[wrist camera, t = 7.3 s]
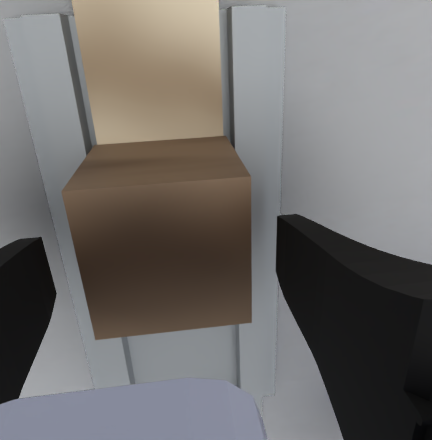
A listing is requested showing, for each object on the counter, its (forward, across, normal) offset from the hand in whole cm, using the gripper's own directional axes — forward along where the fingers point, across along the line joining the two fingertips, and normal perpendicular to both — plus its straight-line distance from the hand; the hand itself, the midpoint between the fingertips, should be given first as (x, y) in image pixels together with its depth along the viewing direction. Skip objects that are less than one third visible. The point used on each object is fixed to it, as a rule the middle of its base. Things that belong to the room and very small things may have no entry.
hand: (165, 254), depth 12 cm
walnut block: (+4, 0, 0) cm, 4 cm away
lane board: (+6, 0, +3) cm, 7 cm away
